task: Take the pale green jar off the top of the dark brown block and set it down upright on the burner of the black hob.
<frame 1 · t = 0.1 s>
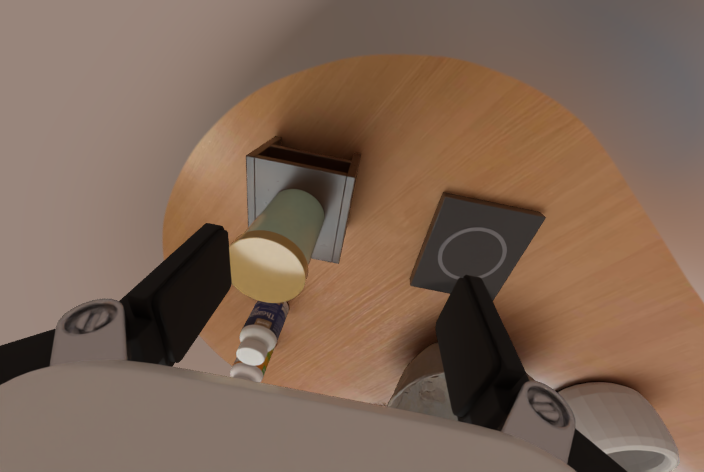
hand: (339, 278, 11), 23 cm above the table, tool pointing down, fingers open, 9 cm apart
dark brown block: (313, 185, 34), on the table
pill bottle: (274, 303, 46), on the table
mug: (576, 406, 54), on the table
jar: (296, 215, 27), point 8 cm above the table, touching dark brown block
hob: (468, 248, 37), on the table
supplement bottle: (262, 339, 51), on the table
ceramic bowl: (451, 354, 49), on the table
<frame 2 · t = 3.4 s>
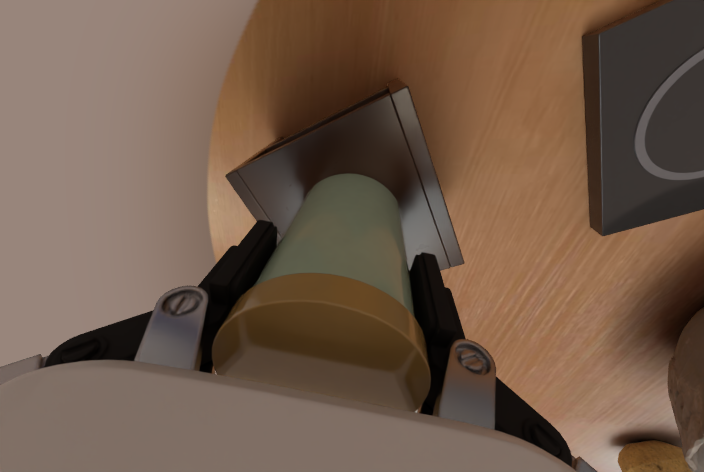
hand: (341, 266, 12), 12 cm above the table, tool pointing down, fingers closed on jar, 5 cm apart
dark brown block: (360, 173, 22), on the table
jar: (350, 222, 15), point 8 cm above the table, touching gripper, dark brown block
hob: (694, 108, 18), on the table
potato: (648, 441, 39), on the table
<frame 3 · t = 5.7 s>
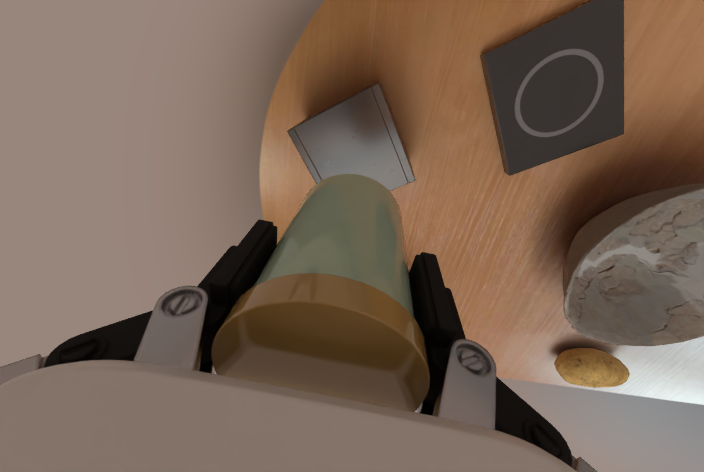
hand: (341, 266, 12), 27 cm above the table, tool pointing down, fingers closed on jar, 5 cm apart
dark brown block: (358, 139, 35), on the table
jar: (350, 222, 15), point 23 cm above the table, touching gripper
hob: (549, 94, 31), on the table
ceramic bowl: (615, 233, 39), on the table
potato: (579, 350, 51), on the table
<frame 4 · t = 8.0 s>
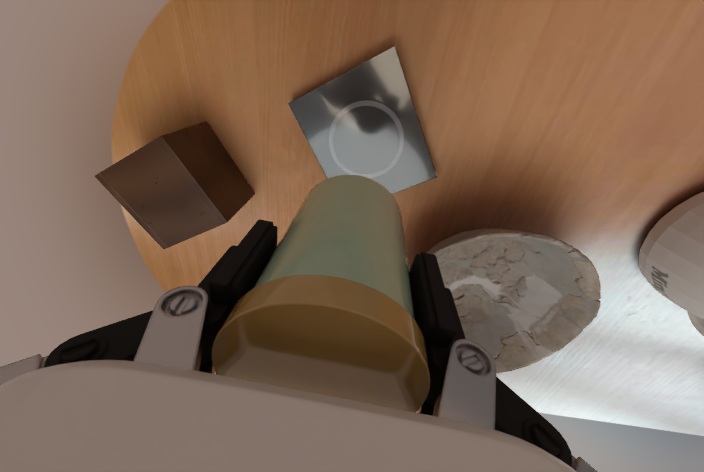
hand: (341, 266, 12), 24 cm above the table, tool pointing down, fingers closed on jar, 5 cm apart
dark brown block: (203, 174, 36), on the table
mug: (699, 248, 36), on the table
jar: (350, 223, 15), point 20 cm above the table, touching gripper
hob: (366, 138, 32), on the table
ceramic bowl: (463, 264, 40), on the table
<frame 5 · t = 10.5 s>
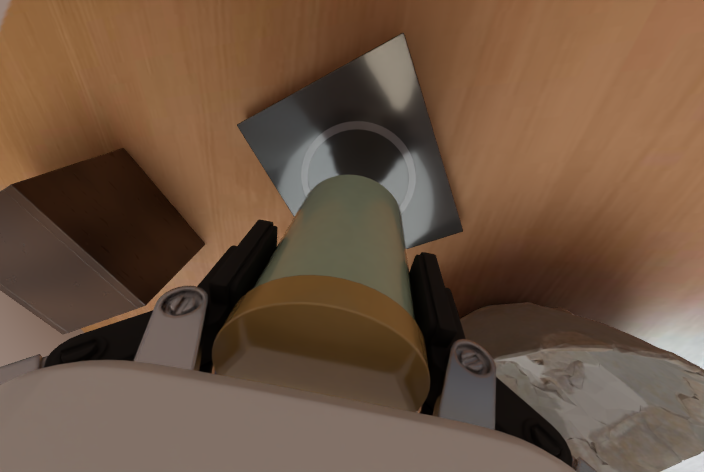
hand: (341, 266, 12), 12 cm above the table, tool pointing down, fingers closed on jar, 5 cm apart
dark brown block: (130, 219, 26), on the table
jar: (350, 223, 15), point 8 cm above the table, touching gripper
hob: (359, 174, 22), on the table
ceramic bowl: (492, 333, 30), on the table
when the fingers open (6 cm above the table, at t = 12.4 s): jar stays where it is, resting on hob.
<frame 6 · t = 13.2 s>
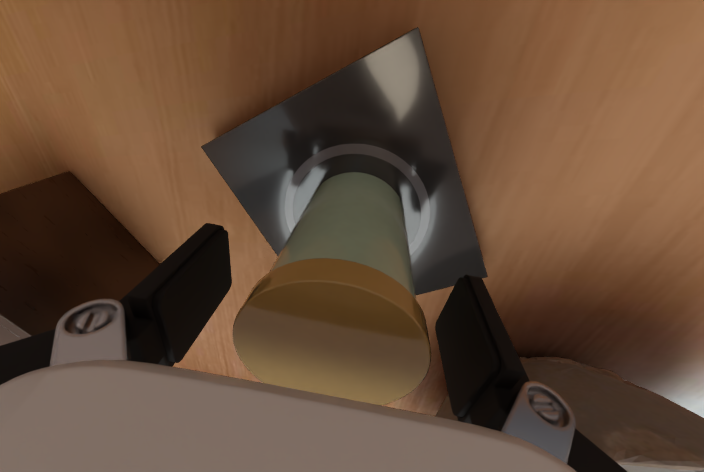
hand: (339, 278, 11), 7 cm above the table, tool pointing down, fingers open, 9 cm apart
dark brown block: (86, 252, 22), on the table
jar: (355, 218, 16), point 2 cm above the table, touching hob
hob: (357, 206, 17), on the table
ceramic bowl: (515, 384, 25), on the table
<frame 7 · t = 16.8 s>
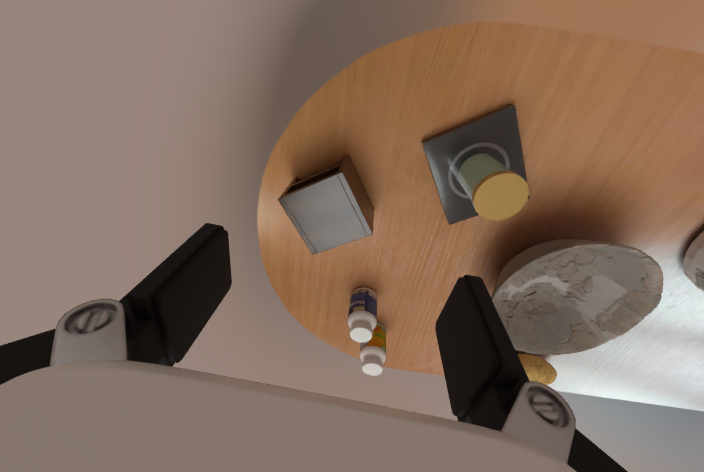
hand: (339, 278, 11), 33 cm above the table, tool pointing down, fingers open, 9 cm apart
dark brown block: (334, 194, 45), on the table
pill bottle: (364, 295, 57), on the table
jar: (478, 172, 40), point 2 cm above the table, touching hob
hob: (475, 168, 41), on the table
supplement bottle: (373, 328, 62), on the table
ceramic bowl: (536, 266, 49), on the table
potato: (520, 355, 62), on the table
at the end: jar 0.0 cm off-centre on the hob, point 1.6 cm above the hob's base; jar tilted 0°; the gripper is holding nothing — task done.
